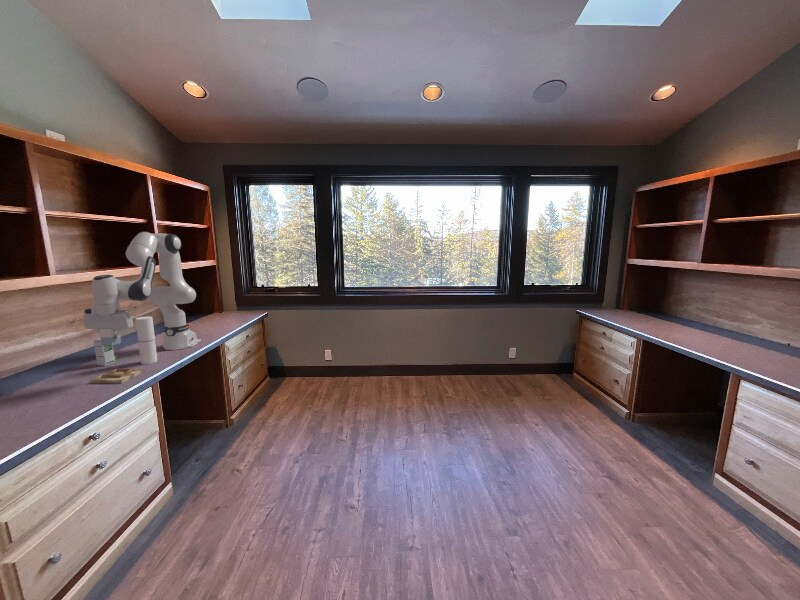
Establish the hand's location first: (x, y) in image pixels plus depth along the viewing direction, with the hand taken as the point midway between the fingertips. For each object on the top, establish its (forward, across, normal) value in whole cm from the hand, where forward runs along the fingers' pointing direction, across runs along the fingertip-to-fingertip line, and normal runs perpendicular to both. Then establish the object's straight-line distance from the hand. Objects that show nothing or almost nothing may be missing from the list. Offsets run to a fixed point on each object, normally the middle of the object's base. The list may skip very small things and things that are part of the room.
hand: (110, 337), depth 149 cm
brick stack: (+3, 0, 0) cm, 3 cm away
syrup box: (+20, +20, -18) cm, 33 cm away
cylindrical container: (+20, 0, -21) cm, 29 cm away
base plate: (+20, -2, 0) cm, 20 cm away
